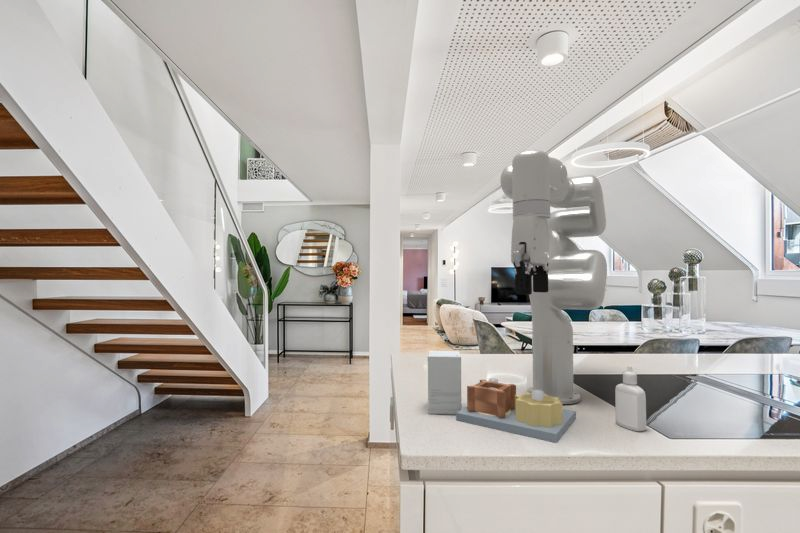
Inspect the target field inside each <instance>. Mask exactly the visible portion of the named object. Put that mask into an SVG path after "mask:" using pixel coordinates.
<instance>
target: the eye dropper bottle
mask: <svg viewBox="0 0 800 533" xmlns="http://www.w3.org/2000/svg"><path fill="white" fill-rule="evenodd" d="M632 367H633V366H632V365H627V367H626V371H623V372H622V383H619V384H618V383H617V385H616V386H615V393H614V394H615V397H614V398H615V403H614V404H615V408H614V409H615V423H616V424H617V425H618V426H620V427H622V428H624V429H627V430H630V431H632V432H633V431H634V432H644V431H646V430H647V399H646V395H647V394H646V391H644V389H643V388H642V387H641V386H639V385H637V384H638V375H637V373H636V372H634V371H633V368H632Z"/></svg>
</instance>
